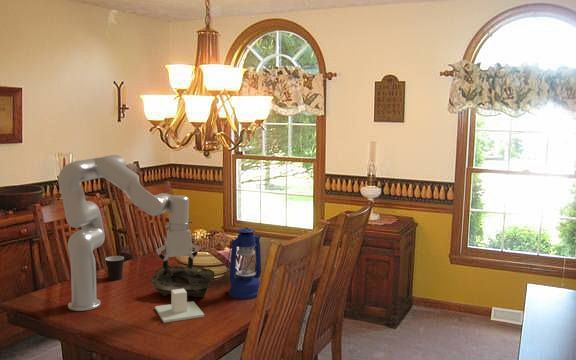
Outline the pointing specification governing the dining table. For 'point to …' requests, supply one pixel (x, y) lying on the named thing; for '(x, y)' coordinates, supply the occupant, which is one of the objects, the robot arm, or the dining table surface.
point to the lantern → (244, 282)
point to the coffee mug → (114, 267)
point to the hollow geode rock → (183, 280)
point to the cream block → (179, 300)
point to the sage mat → (169, 315)
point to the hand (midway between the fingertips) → (177, 268)
